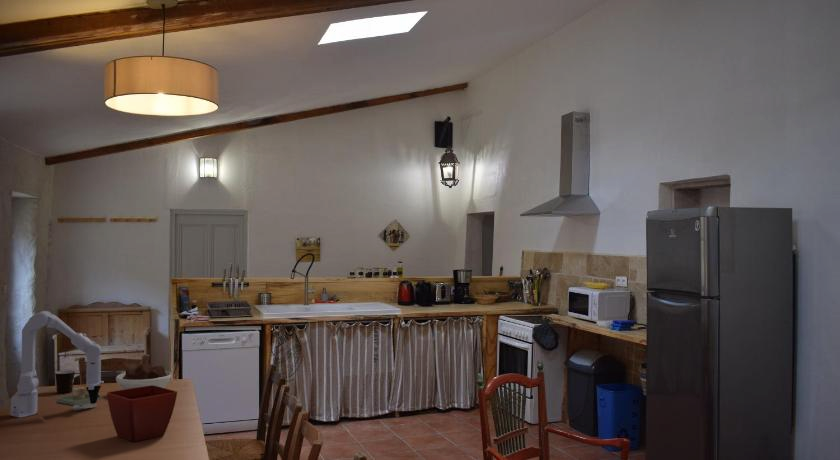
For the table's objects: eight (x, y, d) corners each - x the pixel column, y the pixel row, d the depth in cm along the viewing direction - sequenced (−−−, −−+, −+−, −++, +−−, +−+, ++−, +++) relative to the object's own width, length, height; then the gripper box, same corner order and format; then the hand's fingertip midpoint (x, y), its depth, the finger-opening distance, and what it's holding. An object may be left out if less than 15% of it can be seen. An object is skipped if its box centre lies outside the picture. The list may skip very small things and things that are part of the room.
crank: (74, 411, 287) (75, 398, 287) (72, 409, 289) (72, 397, 289) (100, 407, 294) (100, 395, 294) (97, 405, 296) (98, 393, 297)
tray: (74, 407, 297) (75, 401, 297) (56, 403, 303) (56, 398, 303) (100, 401, 309) (100, 395, 309) (82, 397, 315) (82, 392, 315)
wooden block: (75, 402, 303) (75, 389, 303) (73, 401, 306) (73, 388, 306) (85, 401, 306) (85, 388, 306) (82, 399, 309) (82, 386, 309)
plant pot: (152, 426, 268) (152, 384, 269) (177, 435, 256) (178, 391, 257) (104, 436, 254) (105, 392, 254) (129, 446, 241) (130, 400, 242)
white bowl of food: (115, 391, 329) (115, 360, 330) (169, 387, 340) (169, 357, 340) (115, 402, 307) (116, 369, 307) (173, 397, 317) (173, 366, 318)
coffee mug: (68, 394, 321) (68, 373, 321) (50, 394, 321) (51, 373, 322) (81, 389, 333) (81, 369, 333) (64, 389, 333) (64, 369, 333)
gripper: (101, 374, 287) (101, 406, 286) (106, 368, 300) (106, 398, 300) (83, 375, 284) (83, 407, 284) (88, 369, 298) (88, 399, 298)
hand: (93, 403), depth 292 cm, fingers closed, pressing on crank
